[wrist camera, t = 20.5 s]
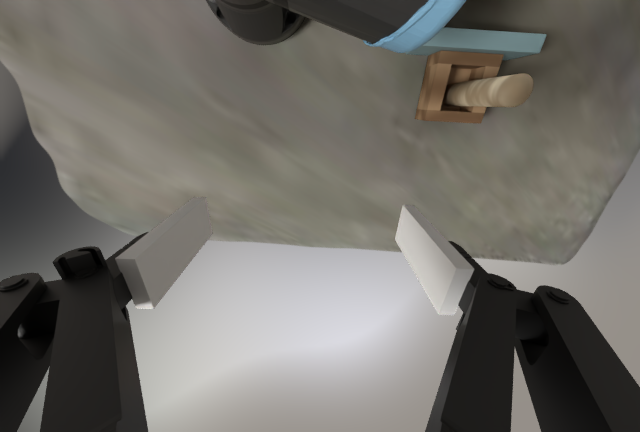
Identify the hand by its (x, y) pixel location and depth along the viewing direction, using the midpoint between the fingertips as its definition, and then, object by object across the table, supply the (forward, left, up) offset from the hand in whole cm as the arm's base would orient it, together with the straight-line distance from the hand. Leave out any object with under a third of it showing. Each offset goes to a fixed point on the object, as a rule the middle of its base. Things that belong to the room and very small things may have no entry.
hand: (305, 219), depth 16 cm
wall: (-15, +22, -29) cm, 39 cm away
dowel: (-9, +22, -28) cm, 37 cm away
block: (-10, +22, -29) cm, 37 cm away
